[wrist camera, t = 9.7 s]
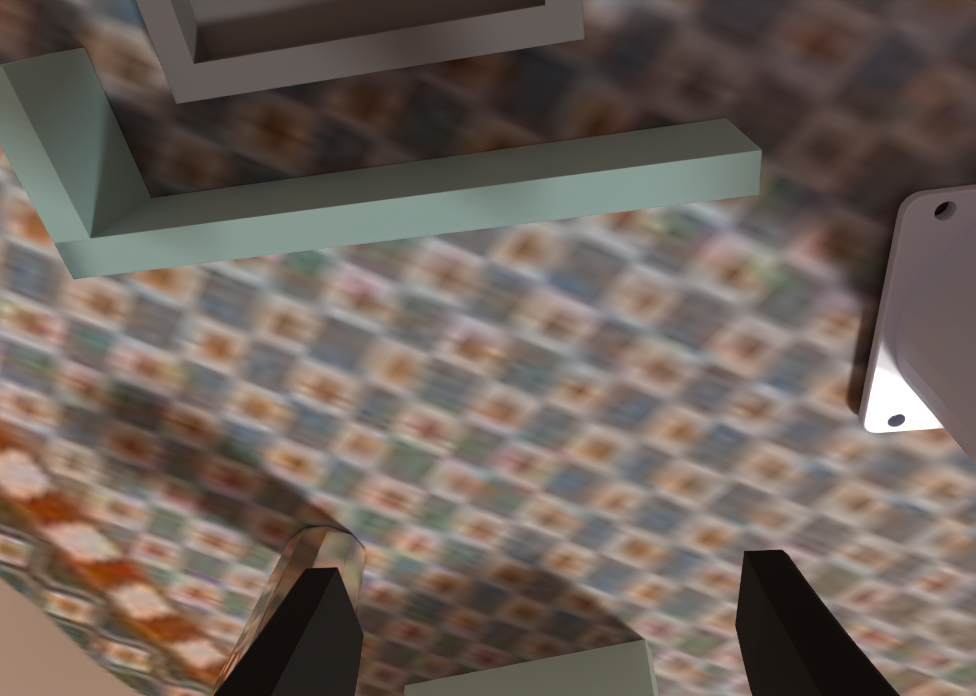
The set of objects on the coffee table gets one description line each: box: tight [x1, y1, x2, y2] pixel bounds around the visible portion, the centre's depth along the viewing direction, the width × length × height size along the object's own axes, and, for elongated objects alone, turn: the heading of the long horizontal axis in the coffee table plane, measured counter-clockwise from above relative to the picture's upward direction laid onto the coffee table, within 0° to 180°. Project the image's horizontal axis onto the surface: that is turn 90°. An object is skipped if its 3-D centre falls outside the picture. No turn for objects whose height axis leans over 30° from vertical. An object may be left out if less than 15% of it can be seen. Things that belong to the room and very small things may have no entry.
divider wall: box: [0, 47, 762, 279], centre depth 15 cm, size 17×5×3 cm, turn 99°
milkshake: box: [209, 526, 366, 696], centre depth 22 cm, size 5×5×10 cm
